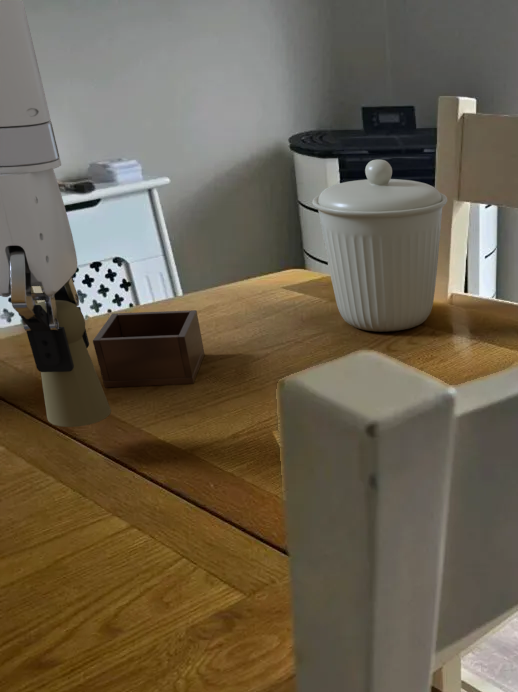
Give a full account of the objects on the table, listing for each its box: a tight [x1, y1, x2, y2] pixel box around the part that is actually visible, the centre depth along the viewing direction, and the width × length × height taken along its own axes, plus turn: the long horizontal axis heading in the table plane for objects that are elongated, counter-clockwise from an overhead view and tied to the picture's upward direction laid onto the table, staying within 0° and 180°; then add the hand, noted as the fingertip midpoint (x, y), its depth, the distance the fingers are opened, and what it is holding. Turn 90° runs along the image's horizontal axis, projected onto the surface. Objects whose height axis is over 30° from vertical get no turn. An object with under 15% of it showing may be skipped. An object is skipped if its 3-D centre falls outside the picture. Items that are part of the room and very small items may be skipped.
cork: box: [35, 300, 112, 428], centre depth 80 cm, size 6×6×11 cm
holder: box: [92, 309, 205, 389], centre depth 103 cm, size 11×11×6 cm
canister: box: [311, 159, 448, 333], centre depth 114 cm, size 18×18×21 cm
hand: (64, 357), depth 80 cm, fingers closed on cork, 5 cm apart
